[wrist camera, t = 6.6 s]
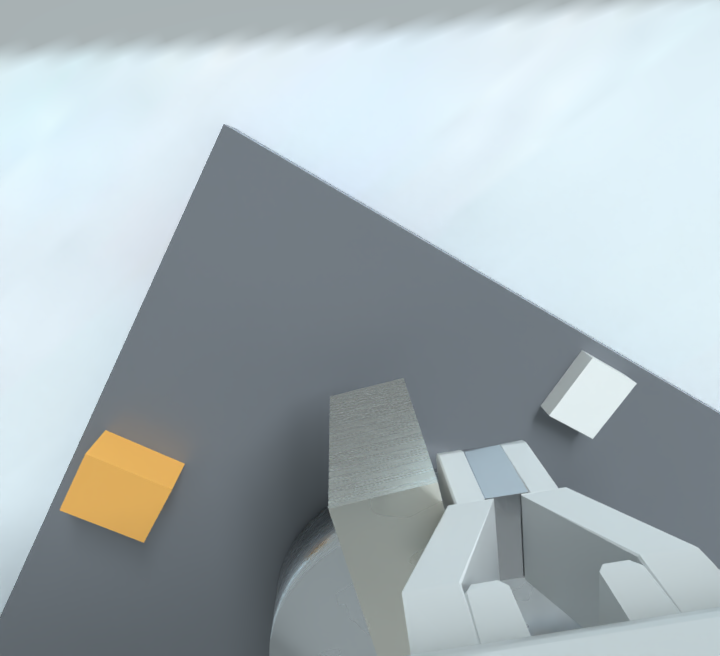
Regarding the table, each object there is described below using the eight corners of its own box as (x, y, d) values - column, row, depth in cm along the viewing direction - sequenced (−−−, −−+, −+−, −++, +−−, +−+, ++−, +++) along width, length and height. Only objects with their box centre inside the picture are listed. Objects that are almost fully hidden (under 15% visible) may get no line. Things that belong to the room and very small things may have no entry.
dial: (539, 310, 13) (692, 420, 8) (588, 666, 18) (708, 902, 12) (188, 400, 14) (84, 568, 8) (323, 727, 18) (318, 985, 12)
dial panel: (850, 488, 17) (928, 537, 15) (525, 813, 22) (547, 886, 20) (233, 127, 13) (211, 119, 10) (-4, 643, 18) (-54, 714, 15)
